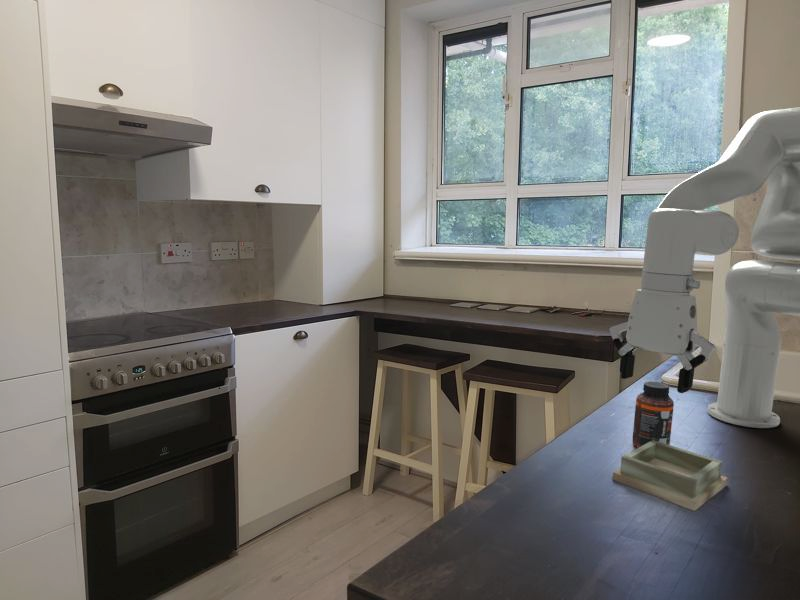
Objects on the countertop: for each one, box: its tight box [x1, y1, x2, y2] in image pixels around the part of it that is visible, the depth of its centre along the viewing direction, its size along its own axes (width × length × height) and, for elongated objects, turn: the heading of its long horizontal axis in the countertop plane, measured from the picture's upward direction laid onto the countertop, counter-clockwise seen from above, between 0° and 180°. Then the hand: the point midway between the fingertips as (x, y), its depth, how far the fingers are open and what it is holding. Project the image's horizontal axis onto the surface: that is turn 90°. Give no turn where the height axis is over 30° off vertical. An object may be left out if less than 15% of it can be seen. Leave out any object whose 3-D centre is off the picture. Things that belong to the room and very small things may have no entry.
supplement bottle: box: [632, 380, 675, 449], centre depth 100 cm, size 6×6×11 cm
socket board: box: [611, 440, 729, 512], centre depth 88 cm, size 12×12×4 cm
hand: (653, 384), depth 99 cm, fingers open, 9 cm apart
